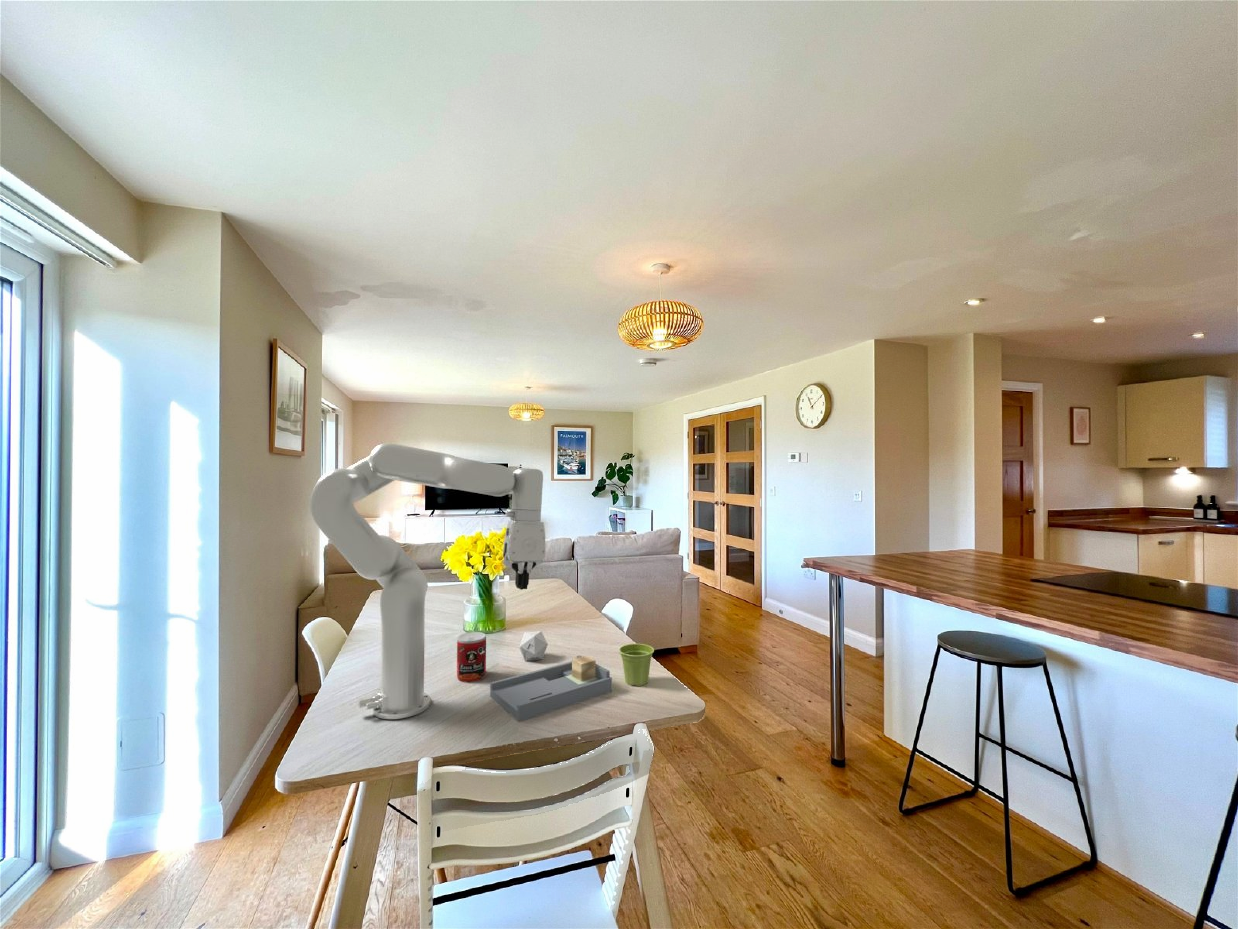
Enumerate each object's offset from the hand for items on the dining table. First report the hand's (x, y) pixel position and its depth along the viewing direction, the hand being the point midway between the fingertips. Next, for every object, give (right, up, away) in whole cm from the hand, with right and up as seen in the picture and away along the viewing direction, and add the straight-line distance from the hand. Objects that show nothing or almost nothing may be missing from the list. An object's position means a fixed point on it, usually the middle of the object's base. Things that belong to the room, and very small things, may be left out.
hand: (521, 588), depth 128 cm
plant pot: (+30, -27, +7) cm, 41 cm away
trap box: (+8, -27, -1) cm, 28 cm away
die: (-1, -27, +24) cm, 36 cm away
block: (+15, -25, +5) cm, 30 cm away
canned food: (-16, -27, +10) cm, 33 cm away
